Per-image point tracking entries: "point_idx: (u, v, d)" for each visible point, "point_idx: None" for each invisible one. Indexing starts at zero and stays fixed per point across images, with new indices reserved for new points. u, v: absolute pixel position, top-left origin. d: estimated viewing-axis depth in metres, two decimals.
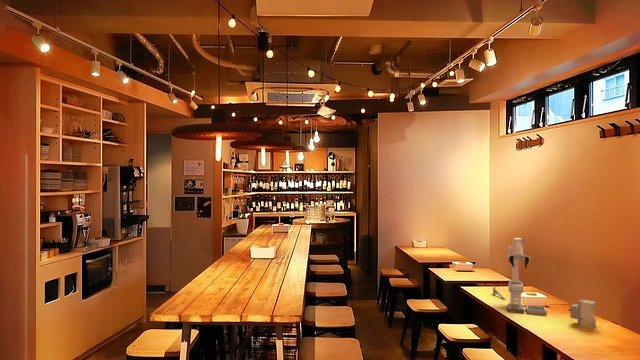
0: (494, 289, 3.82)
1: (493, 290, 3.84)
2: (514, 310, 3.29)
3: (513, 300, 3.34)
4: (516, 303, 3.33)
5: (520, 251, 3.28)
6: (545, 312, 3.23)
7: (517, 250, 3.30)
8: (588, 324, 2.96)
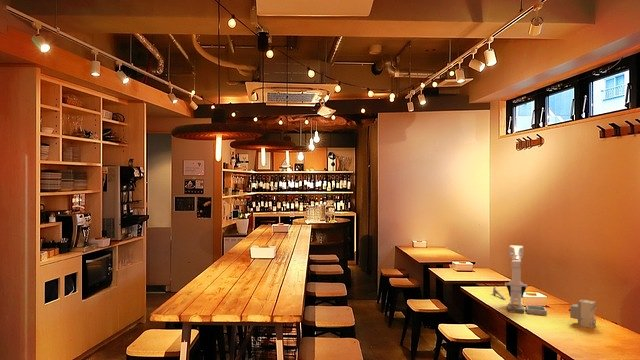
0: (494, 289, 3.82)
1: (493, 290, 3.84)
2: (514, 310, 3.29)
3: (513, 300, 3.34)
4: (516, 303, 3.33)
5: (518, 280, 3.31)
6: (545, 312, 3.23)
7: (515, 279, 3.32)
8: (588, 324, 2.96)
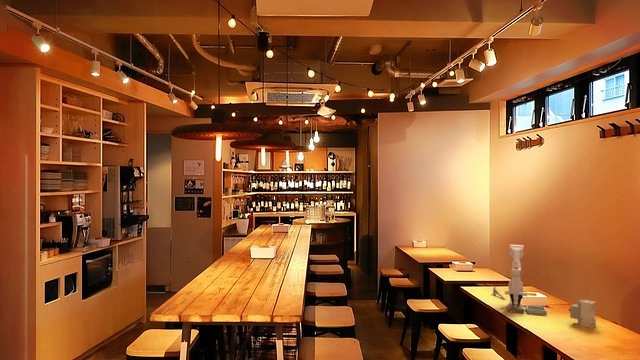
0: (494, 289, 3.82)
1: (493, 290, 3.84)
2: (514, 310, 3.29)
3: (513, 300, 3.34)
4: (516, 303, 3.33)
5: (517, 289, 3.31)
6: (545, 312, 3.23)
7: (514, 288, 3.32)
8: (588, 324, 2.96)
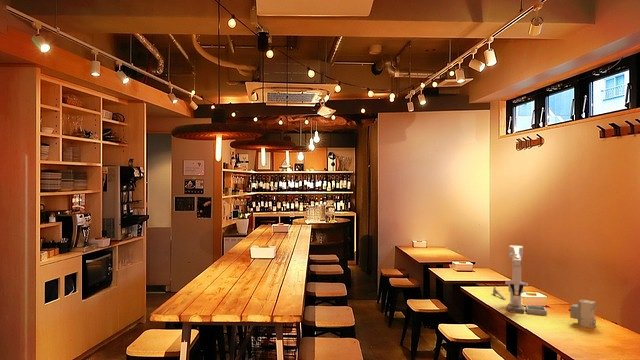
0: (494, 289, 3.82)
1: (493, 290, 3.84)
2: (514, 310, 3.29)
3: (514, 290, 3.34)
4: (517, 293, 3.32)
5: (518, 279, 3.31)
6: (545, 312, 3.23)
7: (515, 278, 3.32)
8: (588, 324, 2.96)
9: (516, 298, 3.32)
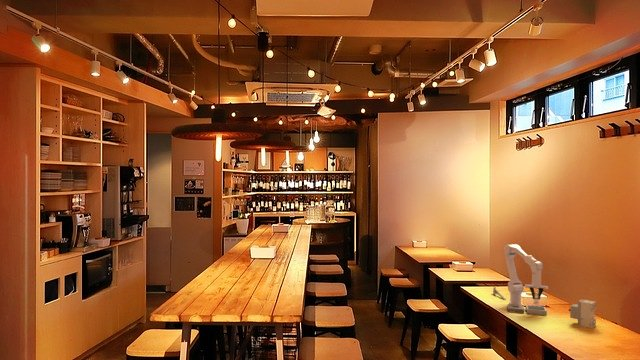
0: (494, 289, 3.82)
1: (493, 290, 3.84)
2: (514, 310, 3.29)
3: None
4: (537, 296, 3.29)
5: (538, 282, 3.27)
6: (545, 312, 3.23)
7: (535, 281, 3.28)
8: (588, 324, 2.96)
9: (536, 302, 3.29)
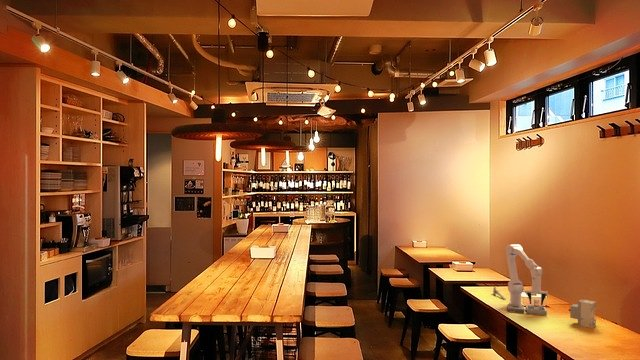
0: (494, 289, 3.82)
1: (493, 290, 3.84)
2: (514, 310, 3.29)
3: None
4: (537, 304, 3.28)
5: (538, 288, 3.27)
6: (545, 312, 3.23)
7: (535, 287, 3.28)
8: (588, 324, 2.96)
9: (536, 309, 3.28)
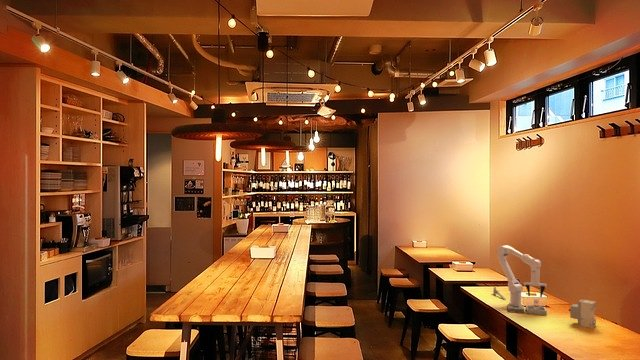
0: (494, 289, 3.82)
1: (494, 290, 3.84)
2: (514, 310, 3.29)
3: None
4: (537, 304, 3.28)
5: (537, 280, 3.34)
6: (545, 312, 3.23)
7: (534, 279, 3.35)
8: (588, 324, 2.96)
9: (536, 309, 3.28)
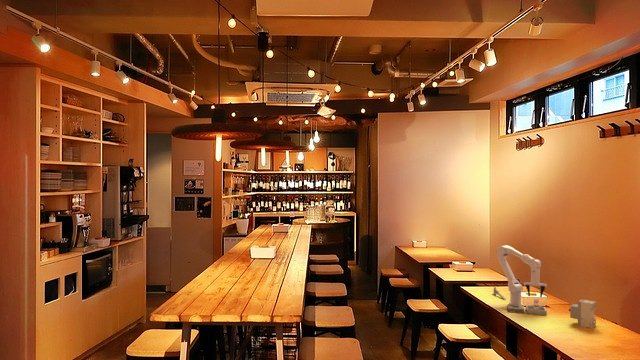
0: (495, 289, 3.82)
1: (494, 290, 3.84)
2: (514, 310, 3.29)
3: None
4: (537, 304, 3.28)
5: (537, 280, 3.34)
6: (545, 312, 3.23)
7: (534, 279, 3.35)
8: (588, 324, 2.96)
9: (536, 309, 3.28)
